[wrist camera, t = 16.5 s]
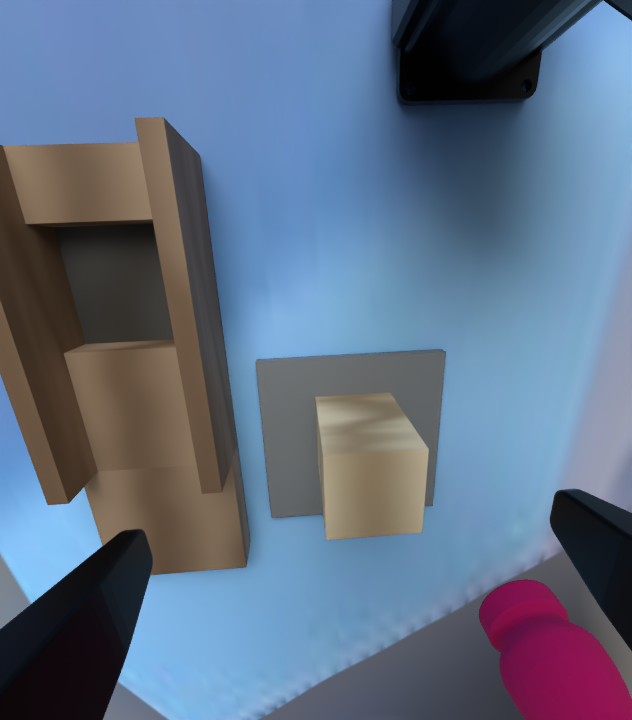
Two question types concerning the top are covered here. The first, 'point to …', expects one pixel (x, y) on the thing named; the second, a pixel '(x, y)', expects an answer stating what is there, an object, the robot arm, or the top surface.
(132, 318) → the walnut trough
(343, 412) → the maple block
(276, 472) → the slate pad
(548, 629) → the pepper mill
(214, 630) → the top surface
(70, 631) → the robot arm
